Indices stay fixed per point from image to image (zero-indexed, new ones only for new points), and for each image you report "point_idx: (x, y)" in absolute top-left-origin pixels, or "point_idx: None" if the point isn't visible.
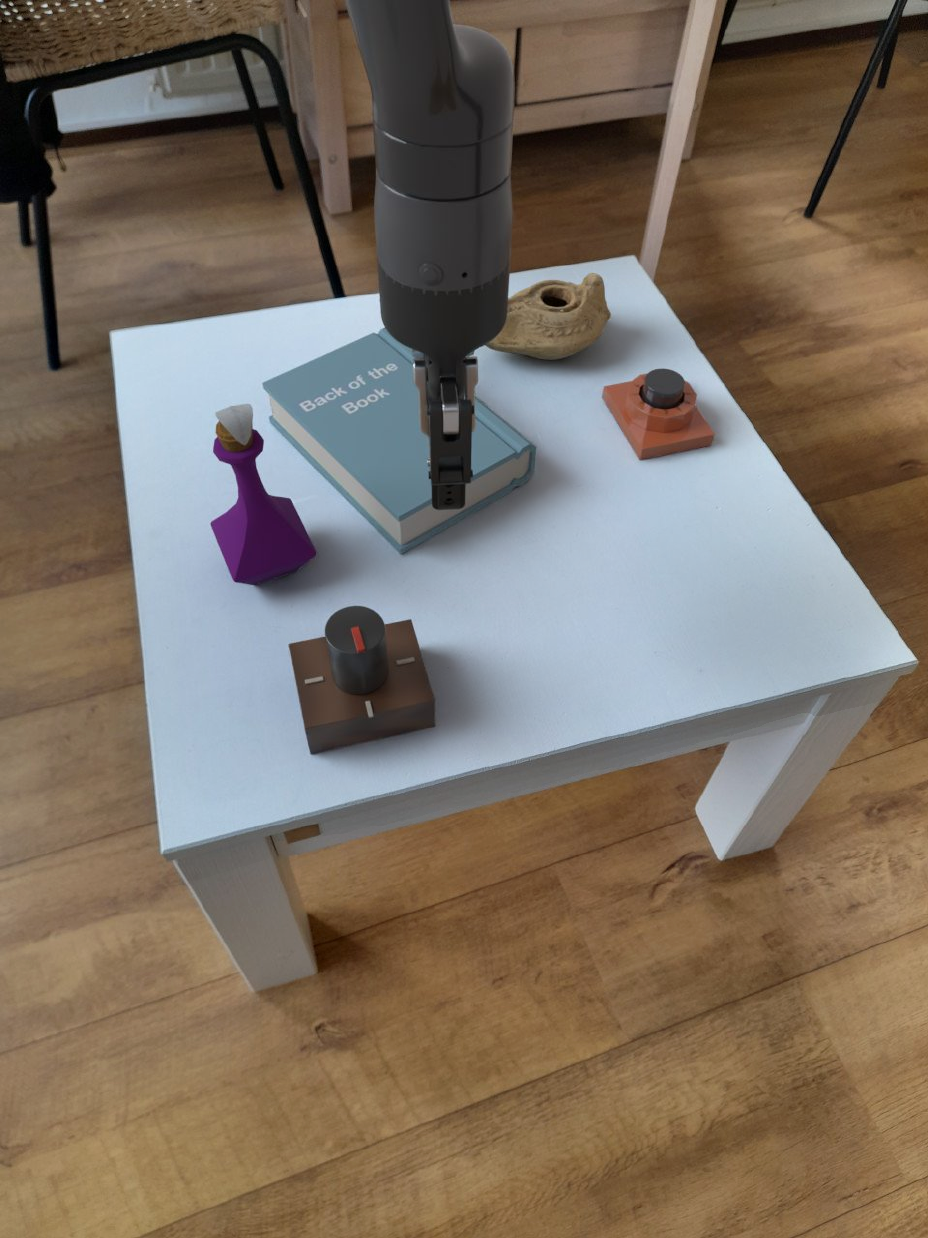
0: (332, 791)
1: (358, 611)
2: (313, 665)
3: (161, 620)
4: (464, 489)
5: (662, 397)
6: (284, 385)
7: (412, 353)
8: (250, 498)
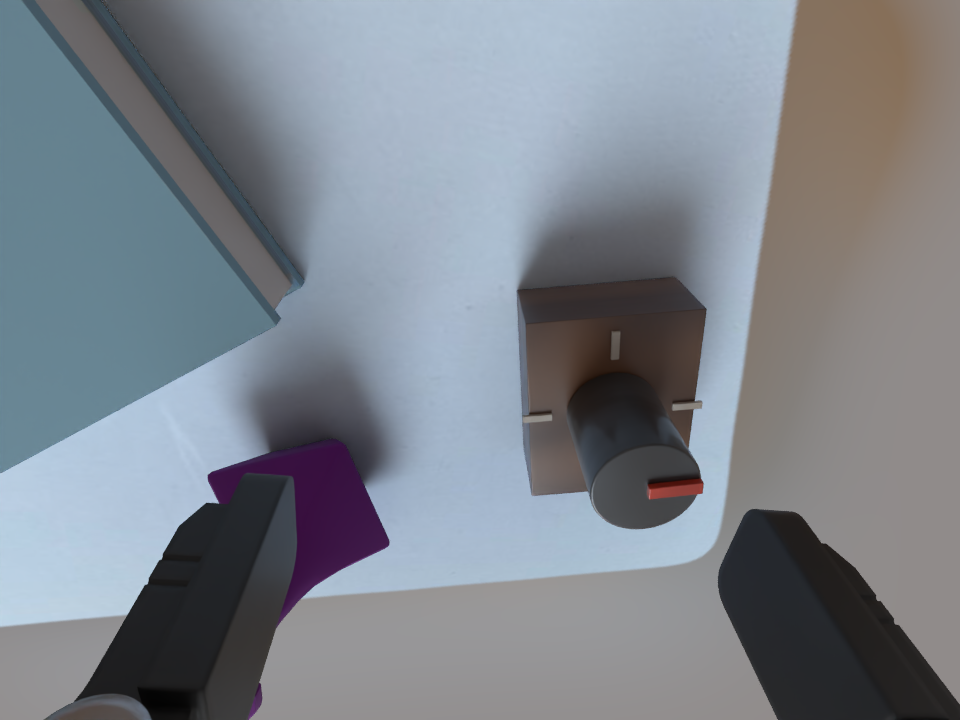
0: (721, 417)
1: (609, 481)
2: (580, 468)
3: (408, 579)
4: (852, 589)
5: None
6: None
7: None
8: (290, 605)
